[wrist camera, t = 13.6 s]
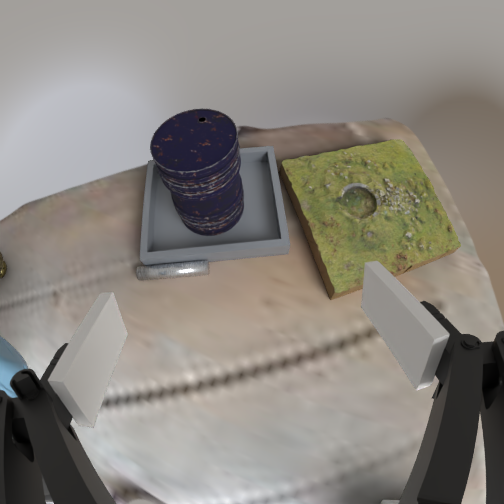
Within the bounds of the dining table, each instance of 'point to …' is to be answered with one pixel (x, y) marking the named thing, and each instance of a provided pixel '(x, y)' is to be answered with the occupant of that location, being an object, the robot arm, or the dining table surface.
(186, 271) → the rod
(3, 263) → the cup
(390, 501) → the light bulb box
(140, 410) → the dining table surface
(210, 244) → the tray
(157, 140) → the storage jar
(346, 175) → the miniature landscape model
